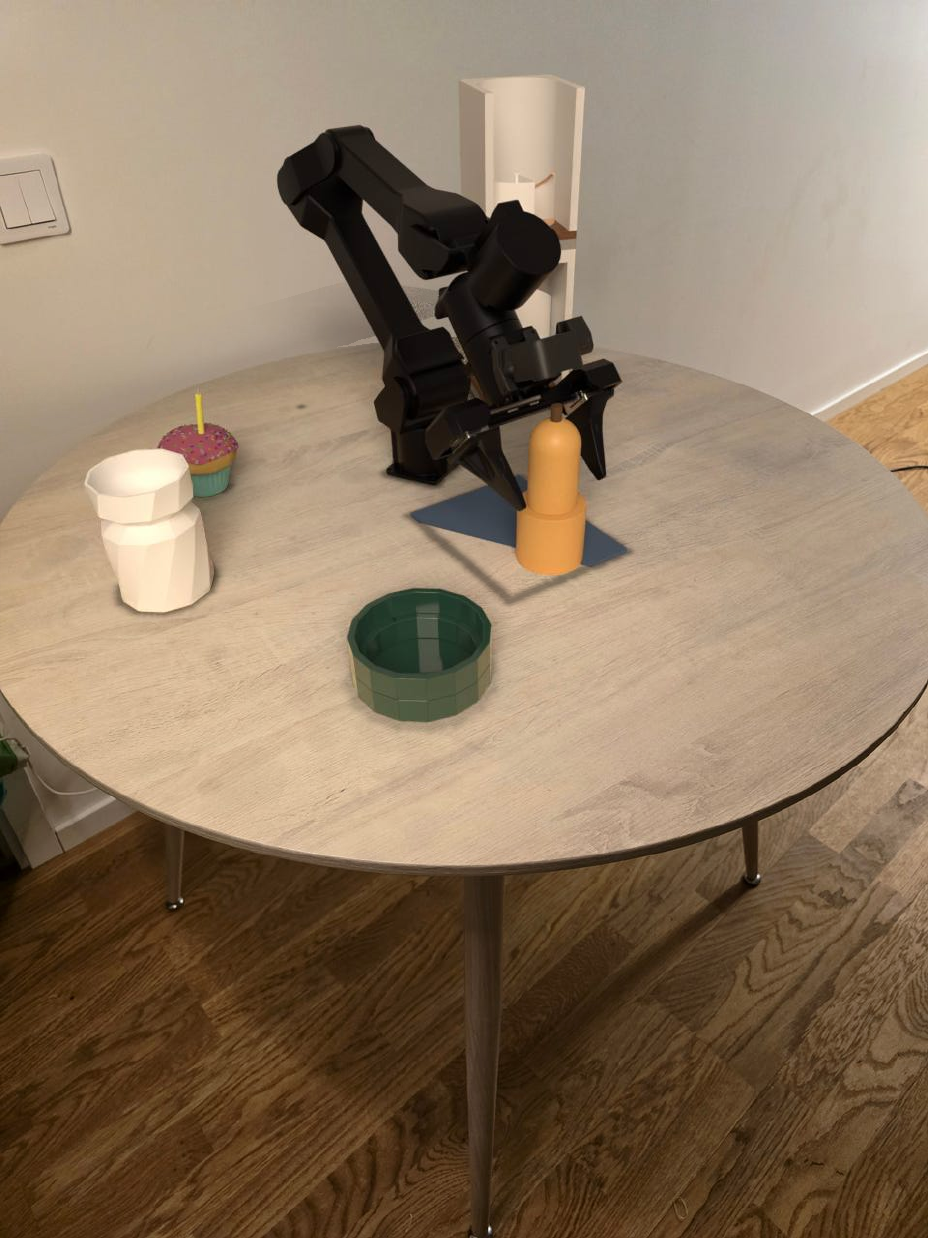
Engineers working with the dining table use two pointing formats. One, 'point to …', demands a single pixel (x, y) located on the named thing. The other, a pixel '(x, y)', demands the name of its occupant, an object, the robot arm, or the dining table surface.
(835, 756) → the dining table surface
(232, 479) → the dining table surface
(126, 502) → the vase
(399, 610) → the pot
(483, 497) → the towel
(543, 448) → the squash
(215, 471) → the cupcake
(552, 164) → the white tower
